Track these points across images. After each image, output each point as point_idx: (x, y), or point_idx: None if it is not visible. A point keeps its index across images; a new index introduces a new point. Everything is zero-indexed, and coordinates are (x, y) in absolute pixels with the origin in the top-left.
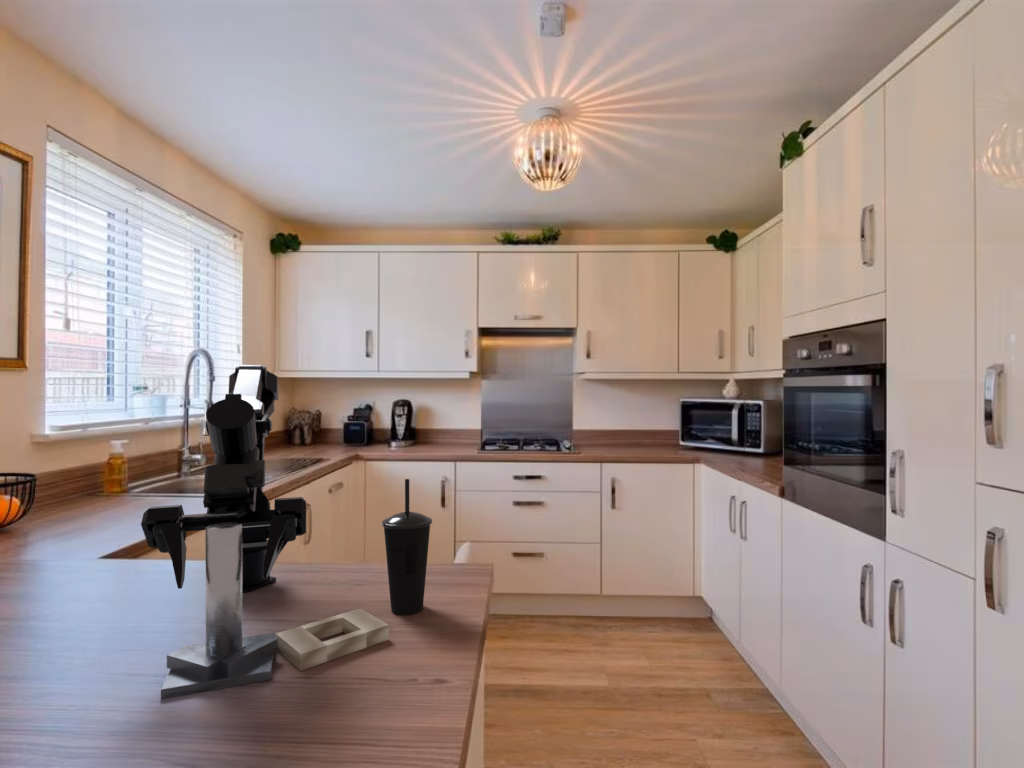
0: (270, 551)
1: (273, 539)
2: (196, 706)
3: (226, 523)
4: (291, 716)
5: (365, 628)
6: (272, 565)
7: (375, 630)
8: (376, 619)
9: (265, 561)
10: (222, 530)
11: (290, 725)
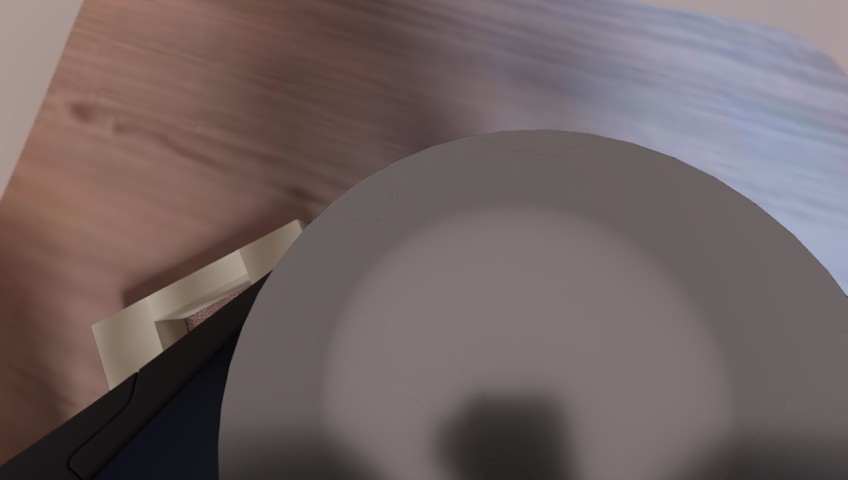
0: (184, 355)
1: (92, 433)
2: None
3: None
4: (327, 58)
5: (144, 323)
6: None
7: (126, 308)
8: (110, 375)
9: (248, 307)
10: (491, 140)
11: (328, 31)
